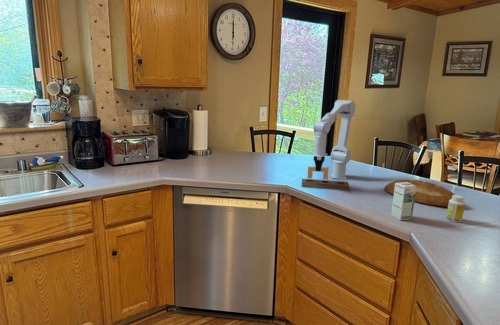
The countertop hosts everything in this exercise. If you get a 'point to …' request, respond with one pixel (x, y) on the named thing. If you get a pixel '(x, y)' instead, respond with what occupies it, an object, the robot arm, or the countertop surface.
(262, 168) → the countertop surface
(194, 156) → the countertop surface
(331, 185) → the wooden board with holes
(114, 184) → the countertop surface
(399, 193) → the syrup box
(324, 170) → the tan rectangular block
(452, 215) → the supplement bottle
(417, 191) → the bread
